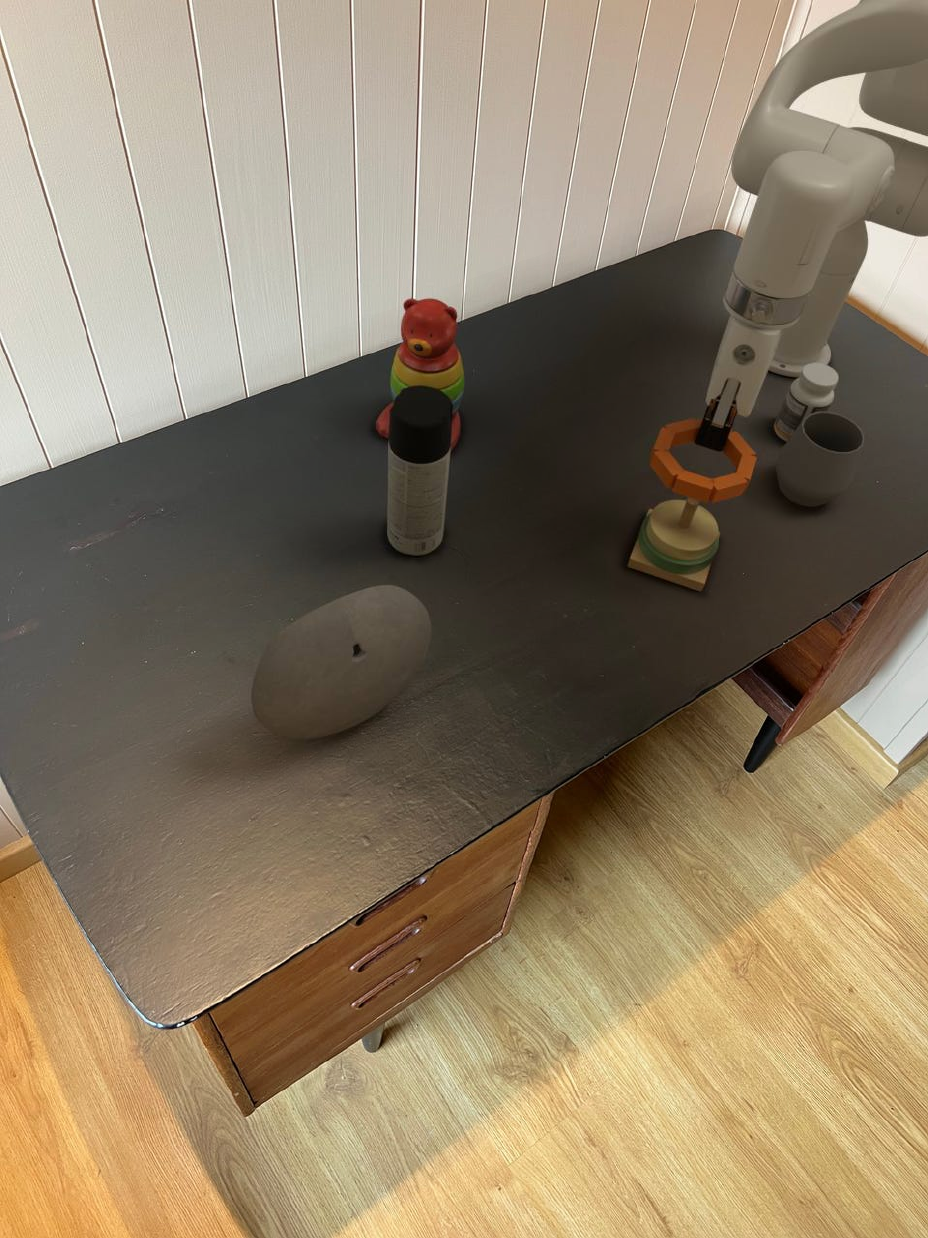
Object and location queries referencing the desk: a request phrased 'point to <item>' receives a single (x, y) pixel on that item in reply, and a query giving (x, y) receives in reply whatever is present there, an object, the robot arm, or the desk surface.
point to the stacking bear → (427, 357)
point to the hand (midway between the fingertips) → (710, 439)
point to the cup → (819, 459)
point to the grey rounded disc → (341, 663)
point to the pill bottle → (806, 397)
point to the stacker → (677, 543)
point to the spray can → (418, 468)
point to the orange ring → (695, 483)
